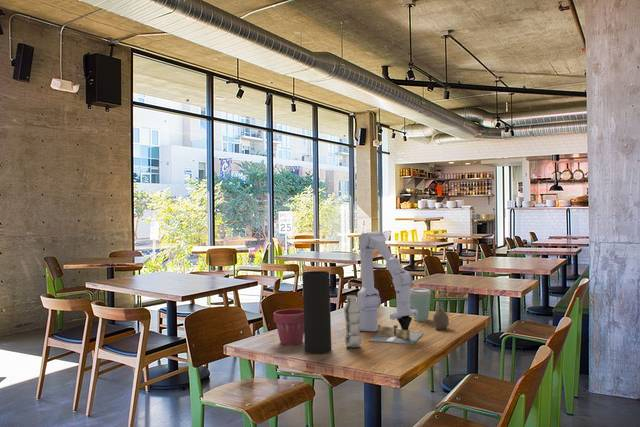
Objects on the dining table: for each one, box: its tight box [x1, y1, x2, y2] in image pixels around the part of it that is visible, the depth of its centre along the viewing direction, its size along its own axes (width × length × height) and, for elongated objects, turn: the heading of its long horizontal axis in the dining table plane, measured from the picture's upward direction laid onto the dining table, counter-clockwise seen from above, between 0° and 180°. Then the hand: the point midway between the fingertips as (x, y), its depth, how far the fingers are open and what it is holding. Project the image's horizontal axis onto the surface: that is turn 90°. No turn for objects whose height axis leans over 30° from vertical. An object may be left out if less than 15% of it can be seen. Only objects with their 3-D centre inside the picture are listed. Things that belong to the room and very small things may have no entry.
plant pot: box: [273, 308, 304, 346], centre depth 220 cm, size 14×14×13 cm
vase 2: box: [432, 308, 450, 331], centre depth 238 cm, size 7×7×9 cm
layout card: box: [368, 330, 424, 345], centre depth 223 cm, size 18×19×1 cm
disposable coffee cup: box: [410, 287, 432, 322], centre depth 258 cm, size 11×11×15 cm
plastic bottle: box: [343, 294, 362, 349], centre depth 210 cm, size 6×7×20 cm
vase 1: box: [302, 270, 332, 355], centre depth 206 cm, size 10×10×30 cm
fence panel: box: [396, 327, 411, 340], centre depth 220 cm, size 9×1×4 cm, turn 23°
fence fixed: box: [377, 324, 399, 336], centre depth 227 cm, size 9×2×5 cm, turn 66°
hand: (405, 334), depth 221 cm, fingers closed, pressing on fence panel
